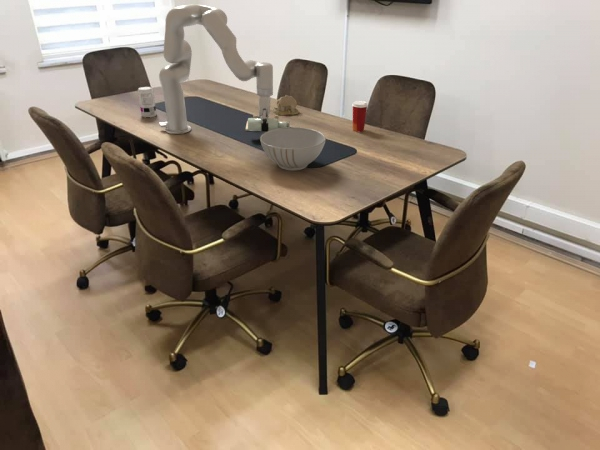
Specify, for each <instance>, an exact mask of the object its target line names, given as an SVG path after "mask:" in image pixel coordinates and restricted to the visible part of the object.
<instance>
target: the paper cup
mask: <svg viewBox="0 0 600 450" xmlns="http://www.w3.org/2000/svg"><path fill="white" fill-rule="evenodd" d="M351 106H352V131H353V132H355V133H361V132H364V131H365V125H366V117H367V109H368V106H369V105H368V102H367V101H365V100H363V101H362V100H356V101H353V102H352V104H351Z"/></svg>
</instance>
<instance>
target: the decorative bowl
mask: <svg viewBox="0 0 600 450" xmlns="http://www.w3.org/2000/svg"><path fill="white" fill-rule="evenodd" d="M259 140H260V144H261V147H262V149H263V151H264V153H265V154H266V156H267V157H268V158H269V159H270V160H271V161H272V162H273V163H275V164H277V165H278V167H279V168H280V169H282V170H285V171H300V170H301V171H302V170H303V169H306V168H307V167H308V165H309V164H311V163H312V162H314V161H315V160H316V159H317V157H318V156H319V155H320V154H321V152H322V150H323V148H324V147H325V144H326V136H325V135H324V133H322V132H321V131H318V130H316V129H312V128H306V127H299V126H298V127H297V126H294V127H293V126H292V127H290V126H289V127H287V128H278V129H273V130H270V131H267V132H263V133H262V134H261V135H260V137H259Z"/></svg>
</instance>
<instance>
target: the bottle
mask: <svg viewBox="0 0 600 450" xmlns="http://www.w3.org/2000/svg"><path fill="white" fill-rule="evenodd" d="M266 119H267V118H266ZM247 121H248V131H247V132H249V131H250V132H262V131H261V123H262V117H257V118H253V117H248V118H247ZM278 121H279V118H278V119H275V117H274V118H272V117H268V131H270V130H273V129H278V128H287V127H290V121H285V122H278Z"/></svg>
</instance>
